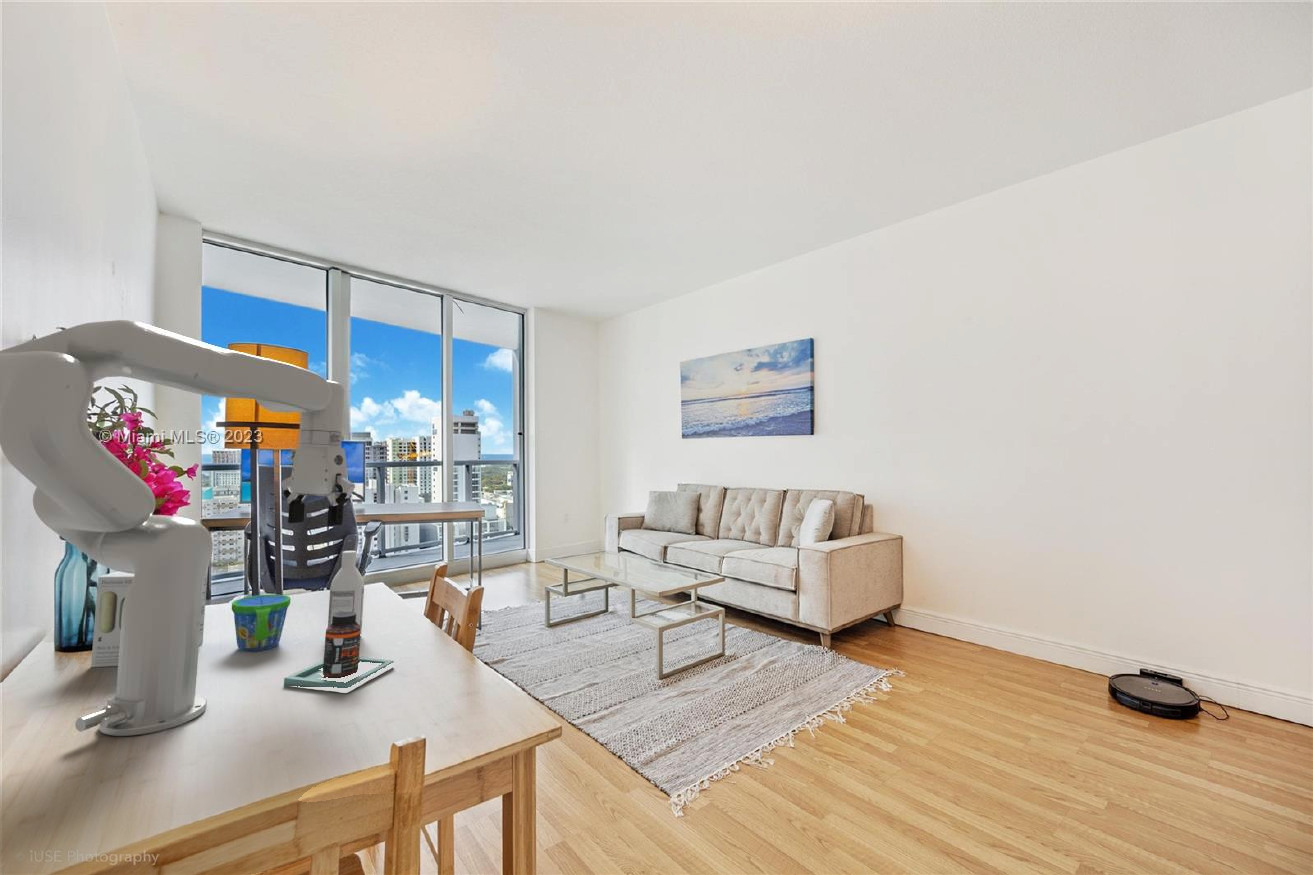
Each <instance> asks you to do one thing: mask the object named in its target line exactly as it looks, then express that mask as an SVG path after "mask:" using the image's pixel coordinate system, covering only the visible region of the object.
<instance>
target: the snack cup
mask: <svg viewBox="0 0 1313 875" xmlns="http://www.w3.org/2000/svg"><path fill="white" fill-rule="evenodd" d="M290 605H291V597H290V596H289V595H285V594H259V595H252V596H246V597H241V598H238V599H236V600H234V601H233V602H232V603H231V611H232V612H233V619H234V620H233V621H234V629H235V639H236V640H235V641H236V645H237V648H238V649H240V651H241V652H245V651H246V652H247V651H248V652H258V651H263V650H267V649H268V650H269V649H271V648H274V647H275V646H278V645H279V643H280V641H281V637H282V633H283V629H284V625H285V621H286V618H287V617H286V616H287V611H288V608H289V607H290Z"/></svg>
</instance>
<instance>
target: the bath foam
mask: <svg viewBox="0 0 1313 875" xmlns="http://www.w3.org/2000/svg"><path fill="white" fill-rule="evenodd" d="M356 564H357V551H356V550H344V551H342V552H341V567H340V569H338V571H337V573H336V574H335V575H334V577H333V579H332V581H331V583H330V588H329V602H328V618H327V619H328V620H327V628H328V627H329V626H330V625H331V624H332V618H333V615H334V614H336V613H339V612H355V613H356V622H357V623H358V624H359V625H360V627H361V632H360V633H361V634H362V629H363V617H364V615H363V611H364V595H365V594H364V593H365V581H364V578H363V576H362V573H360V571H359V569H358V568H357V566H356Z"/></svg>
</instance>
